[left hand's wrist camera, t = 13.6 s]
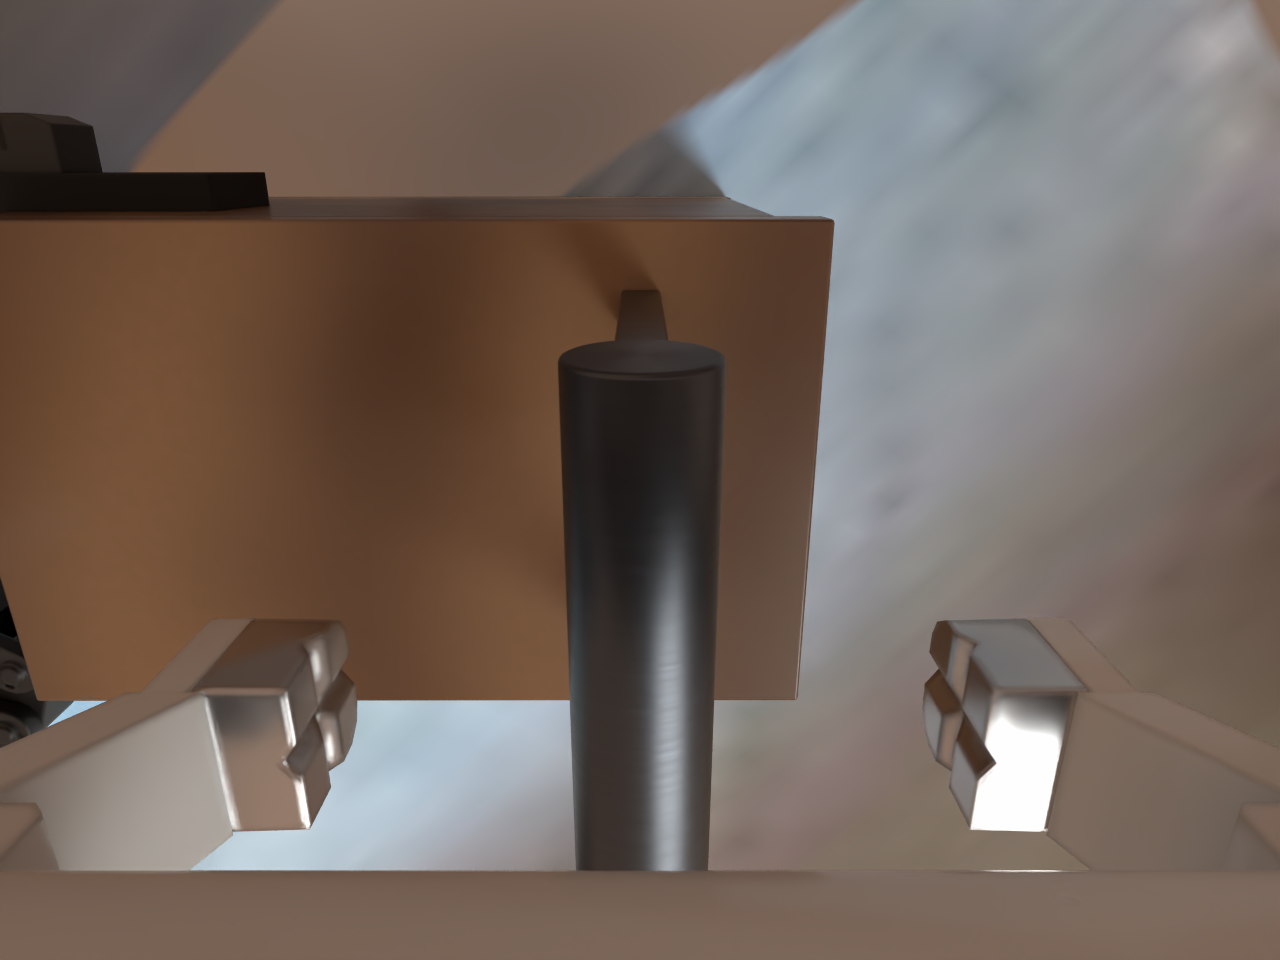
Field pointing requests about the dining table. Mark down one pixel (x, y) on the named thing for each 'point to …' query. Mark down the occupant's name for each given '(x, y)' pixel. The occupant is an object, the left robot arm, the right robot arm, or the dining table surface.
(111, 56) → the dining table surface
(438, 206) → the chest
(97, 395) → the lid
